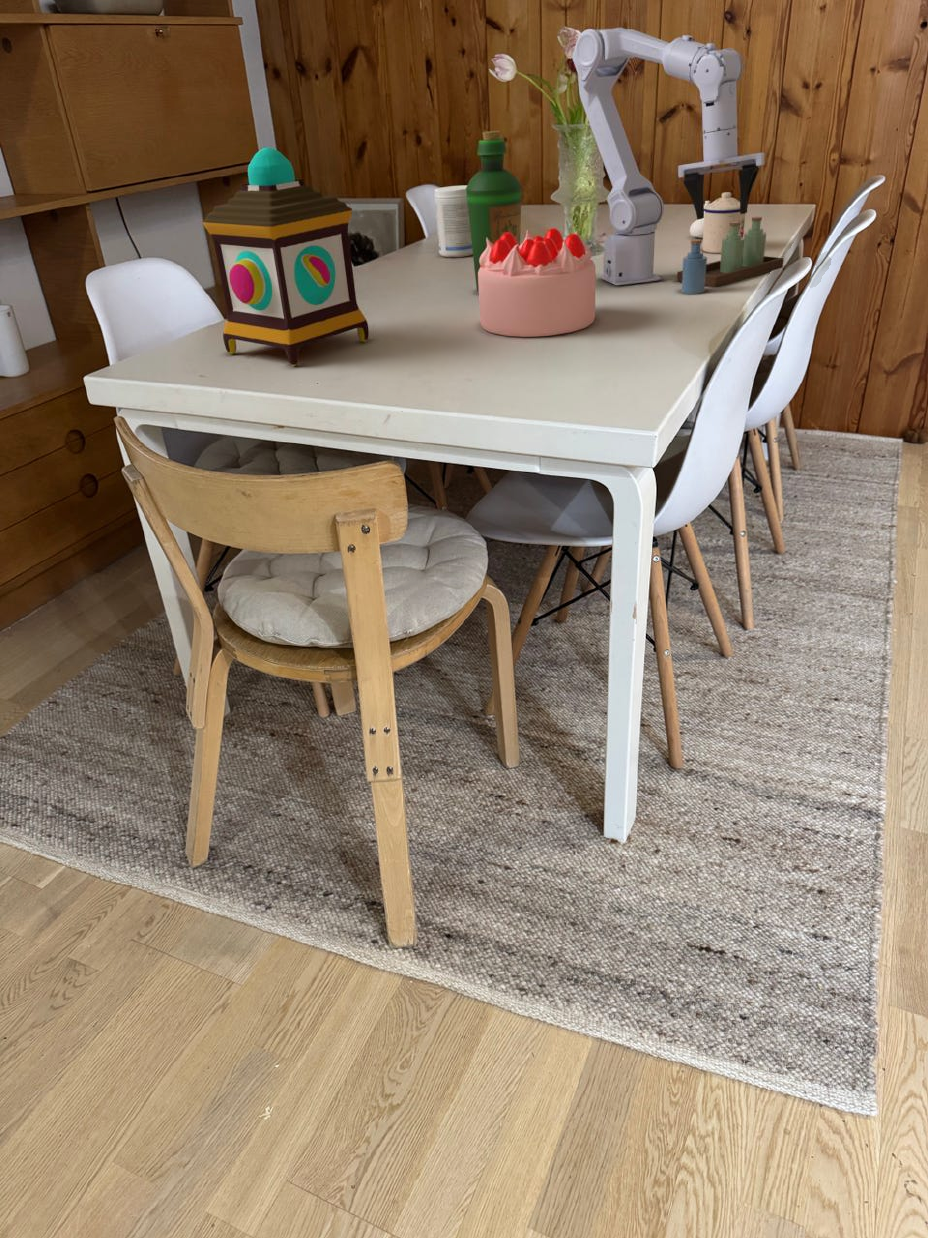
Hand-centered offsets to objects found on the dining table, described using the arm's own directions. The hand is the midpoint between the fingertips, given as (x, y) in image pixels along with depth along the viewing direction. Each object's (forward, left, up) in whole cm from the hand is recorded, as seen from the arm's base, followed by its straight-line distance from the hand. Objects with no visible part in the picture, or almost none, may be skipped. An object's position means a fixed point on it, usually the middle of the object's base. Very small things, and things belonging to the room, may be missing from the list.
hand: (721, 215), depth 161 cm
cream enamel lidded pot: (+21, +37, -13) cm, 44 cm away
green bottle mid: (+9, +11, -12) cm, 19 cm away
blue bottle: (-4, +1, -13) cm, 13 cm away
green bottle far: (+15, +14, -12) cm, 24 cm away
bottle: (-36, +22, -13) cm, 44 cm away
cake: (-37, -7, -13) cm, 40 cm away
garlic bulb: (+24, +53, -13) cm, 59 cm away
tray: (+9, +11, -13) cm, 19 cm away
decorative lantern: (-78, -3, -13) cm, 79 cm away
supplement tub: (-33, +67, -13) cm, 75 cm away
